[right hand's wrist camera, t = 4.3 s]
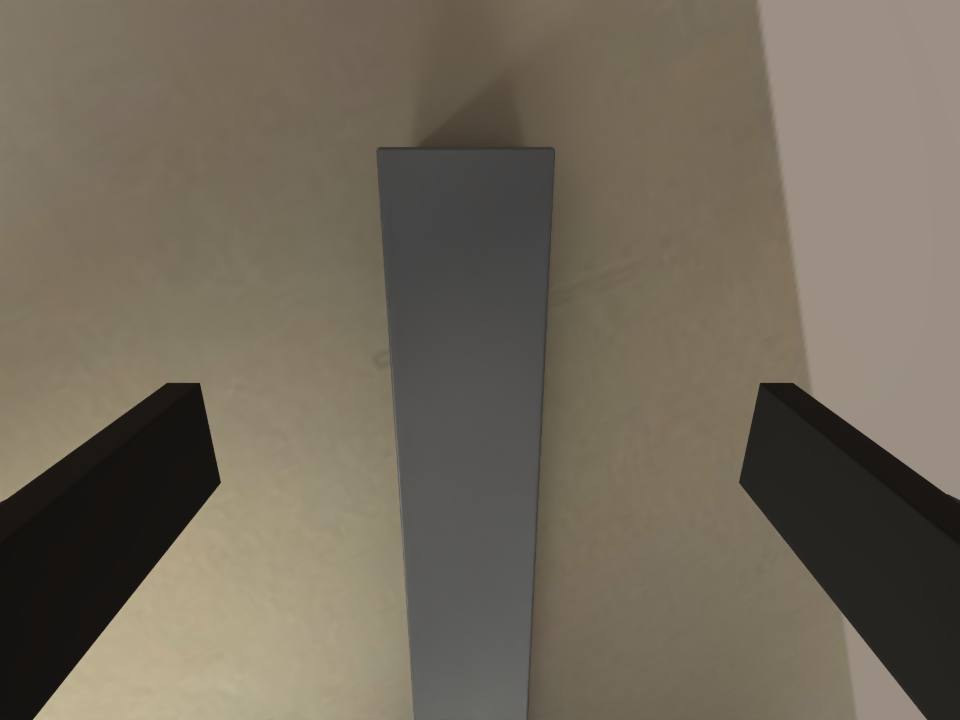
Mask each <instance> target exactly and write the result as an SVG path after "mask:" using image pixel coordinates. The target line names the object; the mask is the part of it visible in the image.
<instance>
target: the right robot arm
mask: <svg viewBox="0 0 960 720" xmlns="http://www.w3.org/2000/svg"><path fill="white" fill-rule="evenodd" d="M220 483H221V481H220V476H219V472H218V467H217V462H216V457H215V453H214V448H213V443H212V438H211V434H210V429H209V424H208V419H207V415H206V410H205V405H204V400H203V396H202V391H201V386H200V383H166V384H165V385H164V386H162V387H161V388H160V389H158V390H157V391H155V392H154V393H153V394H151V395H150V396H148V397H147V398H146V399H144V400H143V401H142V402H140V403H139V404H137V405H136V406H135V407H133V408H132V409H131V410H129V411H128V412H126V413H125V414H124V415H122V416H121V417H120V418H118V419H117V420H115V421H114V422H113V423H111V424H110V425H108V426H107V427H106V428H104V429H103V430H102V431H100V432H99V433H97V434H96V435H95V436H93V437H92V438H91V439H89V440H88V441H86V442H85V443H84V444H82V445H81V446H80V447H78V448H77V449H75V450H74V451H73V452H71V453H70V454H68V455H67V456H66V457H64V458H63V459H62V460H60V461H59V462H57V463H56V464H55V465H53V466H52V467H51V468H49V469H48V470H46V471H45V472H44V473H42V474H41V475H40V476H38V477H37V478H35V479H34V480H33V481H31V482H30V483H28V484H27V485H26V486H24V487H23V488H22V489H20V490H19V491H17V492H16V493H15V494H13V495H12V496H11V497H9V498H8V499H6V500H4V501H2V502H0V720H33V719H34V718H35V716H36V715H37V714H38V713H39V711H40V710H41V709H42V708H43V706H44V705H45V704H46V702H47V701H48V700H49V699H50V697H51V696H52V695H53V694H54V692H55V691H56V690H57V689H58V687H59V686H60V685H61V684H62V682H63V681H64V680H65V679H66V677H67V676H68V675H69V673H70V672H71V671H72V670H73V668H74V667H75V666H76V665H77V663H78V662H79V661H80V660H81V658H82V657H83V656H84V655H85V653H86V652H87V651H88V650H89V648H90V647H91V646H92V644H93V643H94V642H95V641H96V639H97V638H98V637H99V636H100V634H101V633H102V632H103V631H104V629H105V628H106V627H107V626H108V624H109V623H110V622H111V621H112V619H113V618H114V617H115V616H116V614H117V613H118V612H119V610H120V609H121V608H122V607H123V605H124V604H125V603H126V602H127V600H128V599H129V598H130V597H131V595H132V594H133V593H134V592H135V590H136V589H137V588H138V587H139V585H140V584H141V583H142V581H143V580H144V579H145V578H146V576H147V575H148V574H149V573H150V571H151V570H152V569H153V568H154V566H155V565H156V564H157V563H158V561H159V560H160V559H161V558H162V556H163V555H164V554H165V553H166V551H167V550H168V549H169V547H170V546H171V545H172V544H173V542H174V541H175V540H176V539H177V537H178V536H179V535H180V534H181V532H182V531H183V530H184V529H185V527H186V526H187V525H188V524H189V522H190V521H191V520H192V518H193V517H194V516H195V515H196V513H197V512H198V511H199V510H200V508H201V507H202V506H203V505H204V503H205V502H206V501H207V500H208V498H209V497H210V496H211V495H212V493H213V492H214V491H215V489H216V488H217V487H218V486H219V484H220ZM739 483H740V484H741V486H742V487H743V488H744V489H745V491H746V492H747V493H748V495H749V496H750V497H751V498H752V500H753V501H754V502H755V503H756V505H757V506H758V507H759V508H760V510H761V511H762V512H763V513H764V515H765V516H766V517H767V518H768V520H769V521H770V522H771V524H772V525H773V526H774V527H775V529H776V530H777V531H778V532H779V534H780V535H781V536H782V537H783V539H784V540H785V541H786V542H787V544H788V545H789V546H790V547H791V549H792V550H793V551H794V553H795V554H796V555H797V556H798V558H799V559H800V560H801V561H802V563H803V564H804V565H805V566H806V568H807V569H808V570H809V571H810V573H811V574H812V575H813V576H814V578H815V579H816V580H817V581H818V583H819V584H820V585H821V587H822V588H823V589H824V590H825V592H826V593H827V594H828V595H829V597H830V598H831V599H832V600H833V602H834V603H835V604H836V605H837V607H838V608H839V609H840V610H841V612H842V613H843V614H844V616H845V617H846V618H847V619H848V621H849V622H850V623H851V624H852V626H853V627H854V628H855V629H856V631H857V632H858V633H859V634H860V636H861V637H862V638H863V639H864V641H865V642H866V643H867V645H868V646H869V647H870V648H871V649H872V651H873V652H874V653H875V655H876V656H877V657H878V658H879V660H880V661H881V662H882V663H883V665H884V666H885V667H886V668H887V670H888V671H889V672H890V673H891V675H892V676H893V677H894V678H895V680H896V681H897V682H898V684H899V685H900V686H901V687H902V689H903V690H904V691H905V692H906V694H907V695H908V696H909V697H910V699H911V700H912V701H913V702H914V704H915V705H916V706H917V708H918V709H919V710H920V711H921V713H922V714H923V715H924V716H925V718H926V719H927V720H960V500H958V499H956V498H954V497H952V496H950V495H948V494H945V493H944V492H942V491H941V490H940V489H938V488H937V487H936V486H934V485H933V484H931V483H930V482H929V481H927V480H926V479H925V478H923V477H922V476H920V475H919V474H918V473H916V472H915V471H914V470H912V469H911V468H909V467H908V466H907V465H905V464H904V463H903V462H901V461H900V460H898V459H897V458H896V457H894V456H893V455H892V454H890V453H889V452H887V451H886V450H885V449H883V448H882V447H880V446H879V445H878V444H876V443H875V442H874V441H872V440H871V439H869V438H868V437H867V436H865V435H864V434H863V433H861V432H860V431H858V430H857V429H856V428H854V427H853V426H851V425H850V424H849V423H847V422H846V421H845V420H843V419H842V418H840V417H839V416H838V415H836V414H835V413H833V412H832V411H831V410H829V409H828V408H827V407H825V406H824V405H823V404H821V403H820V402H818V401H817V400H816V399H814V398H813V397H812V396H810V395H809V394H807V393H806V392H805V391H803V390H802V389H800V388H799V387H798V386H796V385H795V384H794V383H760V386H759V391H758V396H757V400H756V405H755V410H754V415H753V419H752V424H751V429H750V434H749V438H748V443H747V448H746V453H745V457H744V462H743V467H742V472H741V476H740V481H739Z"/></svg>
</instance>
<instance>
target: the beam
mask: <svg viewBox="0 0 960 720" xmlns="http://www.w3.org/2000/svg"><path fill="white" fill-rule="evenodd" d="M554 162H555V150H554V148H552V147H379V148H377V165H378V180H379V195H380V210H381V225H382V241H383V256H384V271H385V286H386V301H387V316H388V331H389V346H390V361H391V377H392V392H393V407H394V422H395V437H396V452H397V467H398V482H399V497H400V513H401V528H402V543H403V558H404V573H405V588H406V603H407V618H408V634H409V649H410V664H411V679H412V694H413V709H414V720H528V703H529V682H530V661H531V640H532V620H533V599H534V578H535V557H536V536H537V516H538V495H539V474H540V453H541V432H542V412H543V391H544V370H545V349H546V328H547V308H548V287H549V266H550V245H551V224H552V203H553V183H554Z"/></svg>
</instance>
